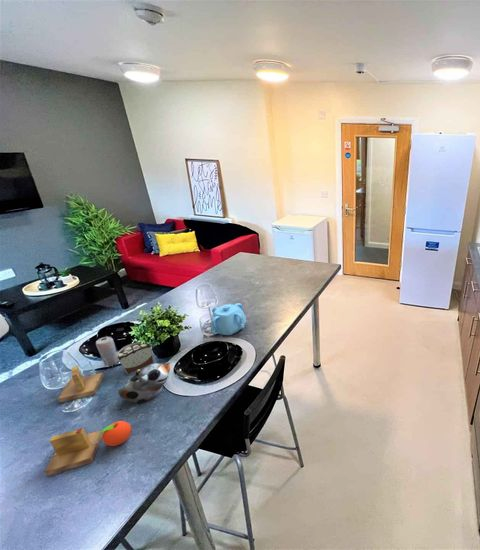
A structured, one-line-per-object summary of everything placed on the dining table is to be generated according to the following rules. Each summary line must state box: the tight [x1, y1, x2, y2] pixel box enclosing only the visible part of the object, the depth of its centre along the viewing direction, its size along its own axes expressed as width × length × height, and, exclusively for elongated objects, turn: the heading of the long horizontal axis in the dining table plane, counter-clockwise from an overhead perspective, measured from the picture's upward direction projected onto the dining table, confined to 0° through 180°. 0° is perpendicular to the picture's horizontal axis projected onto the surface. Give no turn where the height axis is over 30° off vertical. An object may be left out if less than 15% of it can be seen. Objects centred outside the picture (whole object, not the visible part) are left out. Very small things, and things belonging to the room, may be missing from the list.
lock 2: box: [71, 365, 84, 391], centre depth 108 cm, size 7×2×7 cm, turn 43°
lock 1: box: [49, 428, 91, 456], centre depth 85 cm, size 7×2×7 cm, turn 115°
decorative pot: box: [210, 302, 247, 336], centre depth 146 cm, size 16×16×14 cm
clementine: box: [97, 420, 132, 447], centre depth 90 cm, size 8×7×7 cm
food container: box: [116, 341, 155, 376], centre depth 120 cm, size 12×6×10 cm, turn 144°
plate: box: [57, 372, 105, 403], centre depth 110 cm, size 11×10×2 cm
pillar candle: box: [95, 336, 120, 367], centre depth 121 cm, size 5×5×12 cm
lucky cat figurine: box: [117, 361, 171, 404], centre depth 108 cm, size 15×12×14 cm
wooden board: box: [44, 429, 104, 477], centre depth 87 cm, size 11×10×2 cm
